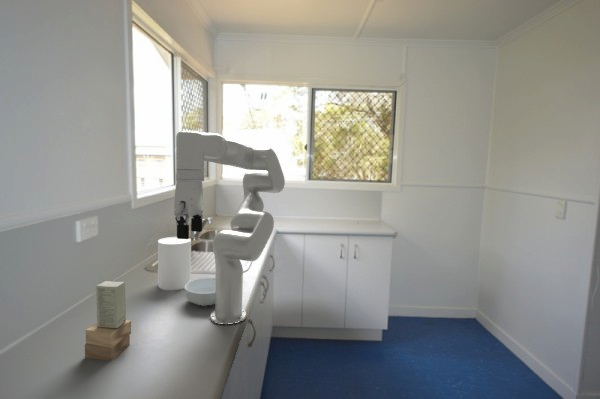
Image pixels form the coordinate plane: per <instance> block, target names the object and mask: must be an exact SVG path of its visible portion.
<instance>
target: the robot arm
mask: <svg viewBox="0 0 600 399" xmlns="http://www.w3.org/2000/svg"><path fill="white" fill-rule="evenodd" d="M175 139H176V141H175V144H176V145H175V153H176V154H175V158H176V159H175V163H176V164H175V168H176V169H175V177H176V178H175V180H176V183H175V189H174V202H173V203H174V204H173V213H174V214H173V215H174V216H175V218H174V219H175V221H176V222H175V224H176V237H177V239H189V238H190V230H191V232H195V233H197V232H198V233H199V232H200V233H201V232H202V231H203V213H204V208H203V207H204V191H203V188H204V187H203V182H205V162H210V163H214V164H219V165H224V166H230V167H235V168H240V169H244V170H249V171H247V172H245V174H244V175H243V179H242V189H243V199H242V202H241V204H240V205H239V206H238V208H237V210H236V211H235V212H234V214H233V216H232V218H231V220H230V225H229V228H230V229H223V230H220V231H218V232H217V233H216V234H215V235H214V237H213V240H212V251H213V255H214V262H215V264H214V265H215V267H214V268H215V272H214V273H215V275H214V276H215V277H214V278H215V304H214V310H212V311H211V313H210V315H209V316H210V318H211V319H210V321H212V322H213V321H214V322H217V323H223V324H228V323H235V322H238V321H242V322H243V321H244V320H245V319H246V318H247V311H246V310H245V309H244V308H243V287H244V286H243V283H244V281H243V280H244V278H243V277H244V269H243V264H242V262H241V261H247V262H256V261H257V260H258V259H259V258H260V256H262V253H263V251H264V249H265V247H266V245H267V244H268V241H269V240H270V238H271V236H272V234H273V231H274V225H275V220H274V217H273V215H272V214H271V213H270V212H268V211H264V207H265V204H264V202H263V199H262V197H261V196H260V193H267V194H268V193H269V194H277V193H281V192H282V191H283V189H284V188H285V184H286V183H285V182H286V181H285V176H284V172H283V169H282V166H281V163H280V160H279V158H278V156H277V154H276V152H275V151H274V150H273V149H272V148H271V147H264V146H263V147H262V146H261V147H260V146H259V147H258V146H256V147H255V146H250V145H248V144H244V143H241V142H240V141H236V140H229V139H226V138H225V137H224V136H223V135H221V134H219V133H216V132H215V133H214V132H213V133H212V132H201V131H200V132H199V131H192V130H181V131H178V132H177V133H176V136H175ZM190 220H191V221H190ZM189 221H190V223H191V224H188V223H189ZM190 228H191V229H190ZM214 322H213V323H214Z"/></svg>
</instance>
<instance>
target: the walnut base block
mask: <svg viewBox="0 0 600 399" xmlns="http://www.w3.org/2000/svg"><path fill="white" fill-rule="evenodd" d="M130 335H131V334H129V335H128V336H127V337H125V338H124V339H123V340H121V341H120V342H118V343H117V344H116V345H114V346H113V347H111V348H109V347H103V346H98V345H92V344H87V343H86V342H85V344H84V358H86V359H94V360H102V361H110V362H111V361H114V360H115V358H117V357H118V356H120V354H121V353H122V352H123V351H125V350H126V349H127V348H128V347H129V346H130V345H131V344H130V343H131V341H130V340H131V338H130Z"/></svg>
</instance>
